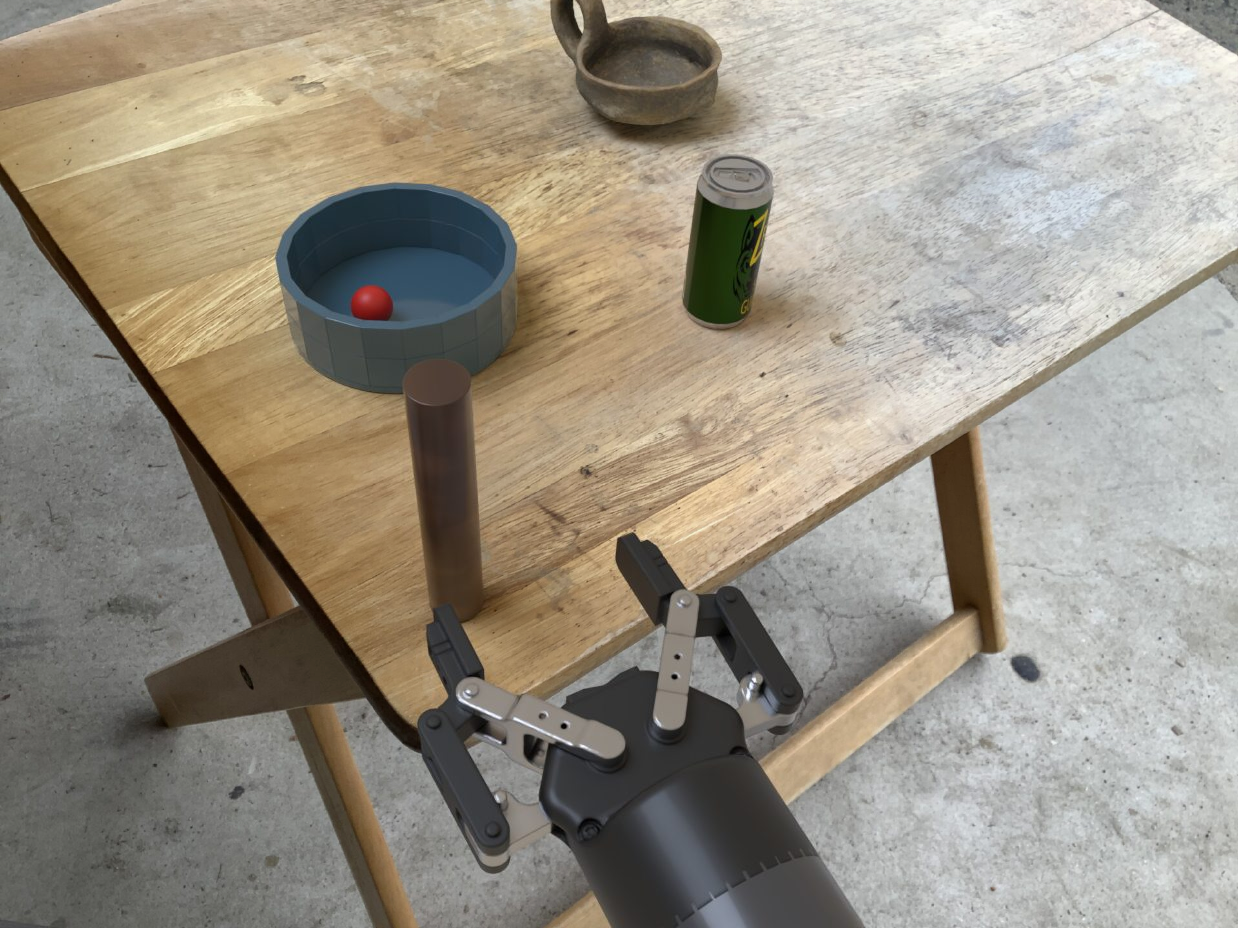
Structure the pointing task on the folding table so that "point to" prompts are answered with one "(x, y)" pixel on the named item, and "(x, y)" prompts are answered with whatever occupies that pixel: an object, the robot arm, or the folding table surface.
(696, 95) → the bowl
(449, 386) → the brown wooden rod
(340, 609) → the folding table surface
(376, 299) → the cherry
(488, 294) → the mixing bowl
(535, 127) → the folding table surface
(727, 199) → the beer can
